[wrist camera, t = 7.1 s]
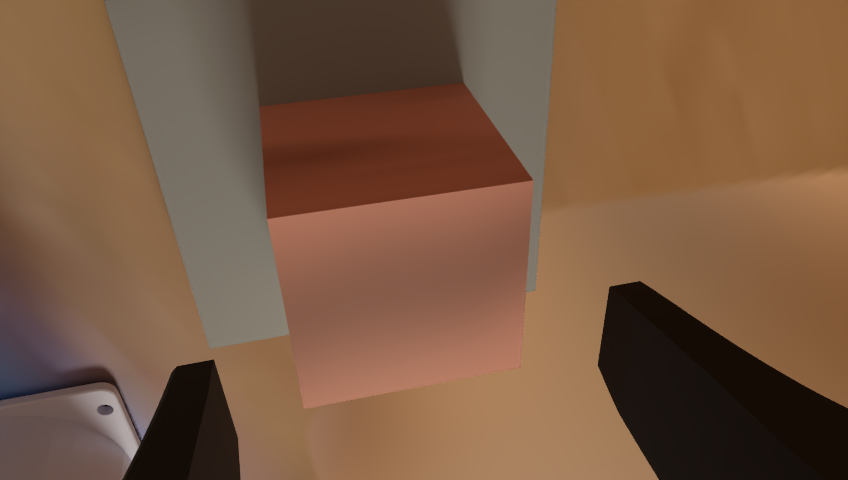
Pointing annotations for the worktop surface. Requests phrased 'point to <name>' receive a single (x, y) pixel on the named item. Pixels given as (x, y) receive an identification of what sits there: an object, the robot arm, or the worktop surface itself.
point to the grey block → (296, 82)
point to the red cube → (396, 239)
